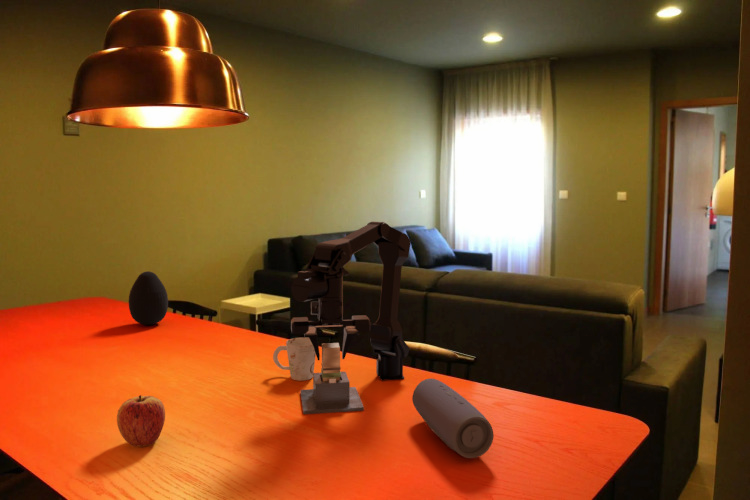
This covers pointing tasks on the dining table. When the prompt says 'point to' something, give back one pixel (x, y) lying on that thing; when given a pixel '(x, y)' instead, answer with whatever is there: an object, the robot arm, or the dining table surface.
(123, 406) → the apple
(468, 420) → the bluetooth speaker
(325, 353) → the column
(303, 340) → the mug
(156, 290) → the egg
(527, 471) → the dining table surface
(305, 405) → the stand base
